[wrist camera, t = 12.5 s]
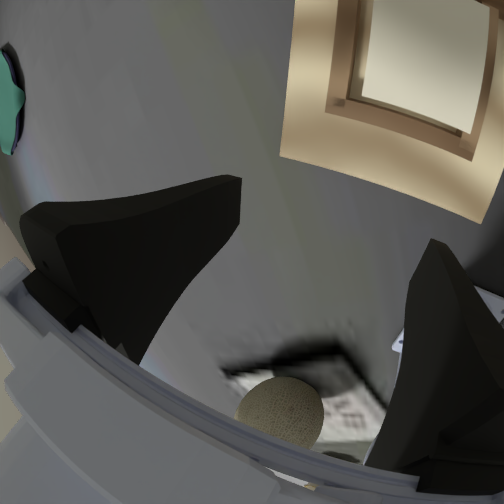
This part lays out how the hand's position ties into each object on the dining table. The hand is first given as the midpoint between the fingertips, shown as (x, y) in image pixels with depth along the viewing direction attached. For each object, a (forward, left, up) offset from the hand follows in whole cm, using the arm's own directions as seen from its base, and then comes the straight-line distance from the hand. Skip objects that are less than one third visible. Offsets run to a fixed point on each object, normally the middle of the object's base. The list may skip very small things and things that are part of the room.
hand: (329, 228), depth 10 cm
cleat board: (+7, -2, -9) cm, 12 cm away
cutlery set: (+7, +59, -10) cm, 60 cm away
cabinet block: (+7, -2, -8) cm, 11 cm away
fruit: (-29, -1, -10) cm, 31 cm away
